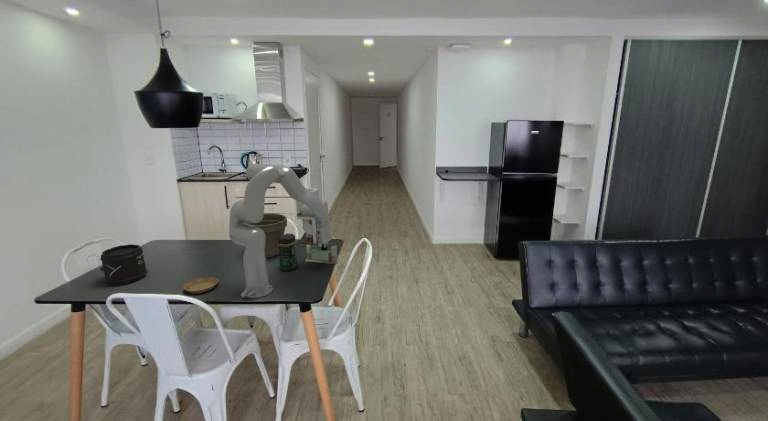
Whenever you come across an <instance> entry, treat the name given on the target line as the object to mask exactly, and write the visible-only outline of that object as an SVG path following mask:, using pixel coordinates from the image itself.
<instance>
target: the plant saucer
mask: <svg viewBox="0 0 768 421" xmlns="http://www.w3.org/2000/svg"><path fill="white" fill-rule="evenodd" d="M218 283H219V279H218V278H216V277H215V276H204V277H199V278H194V279H192V280H190V281H188V282H187V283H184V285H183V290H184V291H186V292H188V293H189V294H202V293H207V292H209V291H211V290H213V289H214V288H215V287H216V285H217V284H218Z"/></svg>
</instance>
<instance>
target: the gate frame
mask: <svg viewBox="0 0 768 421" xmlns="http://www.w3.org/2000/svg"><path fill="white" fill-rule="evenodd" d="M305 249H306V259H304V262H311V263H320V264H329V265H330V264H331V265H337V264H338V263H339V262H340V260H338V245H331V247H330V251H331V253H329V254H328V259H329V261H325V260H315V259H312V256H311V250H312V247H311V245H309V244H308V245H306V246H305Z"/></svg>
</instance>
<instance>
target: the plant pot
mask: <svg viewBox="0 0 768 421" xmlns="http://www.w3.org/2000/svg"><path fill="white" fill-rule="evenodd" d="M249 225H251V226H255V227H258V228H260V229H262V230H263V231H264V233H265V235H266V243H265V255H266V258H272V257H275V256H277V255H280V253H279V245H278V238H280V237H281V236H283V235H285V230H286V227H288V226H287V225H288V217H287V216H286V215H284V214H280V213H264V216H263V219H262V221H261V222H259V223H249Z"/></svg>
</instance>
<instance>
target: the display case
mask: <svg viewBox="0 0 768 421" xmlns="http://www.w3.org/2000/svg"><path fill="white" fill-rule="evenodd" d="M305 188H306V187H305ZM306 189H308V190H309V191H310V192H312V193H313V194H314V195H316V196H317V197H318V198H319V199H320V191H319V190H320V189H319V188H309V187H308V188H306ZM295 204H296V205H295V208H296V218H297V219H296V220H302V221H301V222H302V229H303V231H304V232H305V233H307V234H306V235H307V236H306V237H304V238H303V239H302V240H301V241H299V244H298V246H300V247H306V245H308V244H309V245H311V248H312V247H313V248H315V247H317V246H318V244H317V242H316V225H315V219H314V218H309V217H305V216H303V215H302V214H301V213H300V208H301V206H302V205H303V203H301V202H298V201H296V200H295Z"/></svg>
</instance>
